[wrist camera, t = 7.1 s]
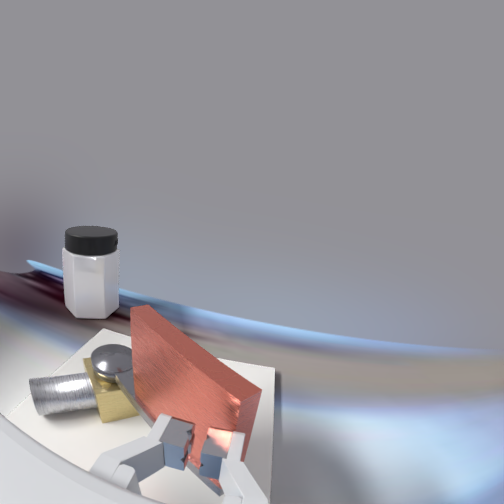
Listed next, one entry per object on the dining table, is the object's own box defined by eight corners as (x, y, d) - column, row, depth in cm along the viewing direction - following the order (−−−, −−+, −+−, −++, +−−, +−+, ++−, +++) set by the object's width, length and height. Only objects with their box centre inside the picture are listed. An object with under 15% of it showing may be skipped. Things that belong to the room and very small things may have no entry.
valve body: (43, 432, 14) (31, 402, 14) (36, 393, 18) (27, 364, 17) (206, 396, 25) (208, 368, 24) (181, 368, 29) (182, 341, 28)
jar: (127, 313, 40) (130, 235, 37) (81, 325, 33) (78, 239, 31) (100, 293, 45) (101, 224, 42) (60, 301, 38) (57, 226, 35)
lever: (86, 360, 20) (78, 271, 19) (125, 351, 23) (124, 267, 22) (202, 507, 10) (212, 416, 9) (253, 474, 13) (283, 377, 11)
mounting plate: (6, 427, 13) (2, 420, 13) (104, 334, 33) (103, 328, 33) (266, 526, 12) (268, 522, 12) (273, 374, 32) (274, 367, 32)
